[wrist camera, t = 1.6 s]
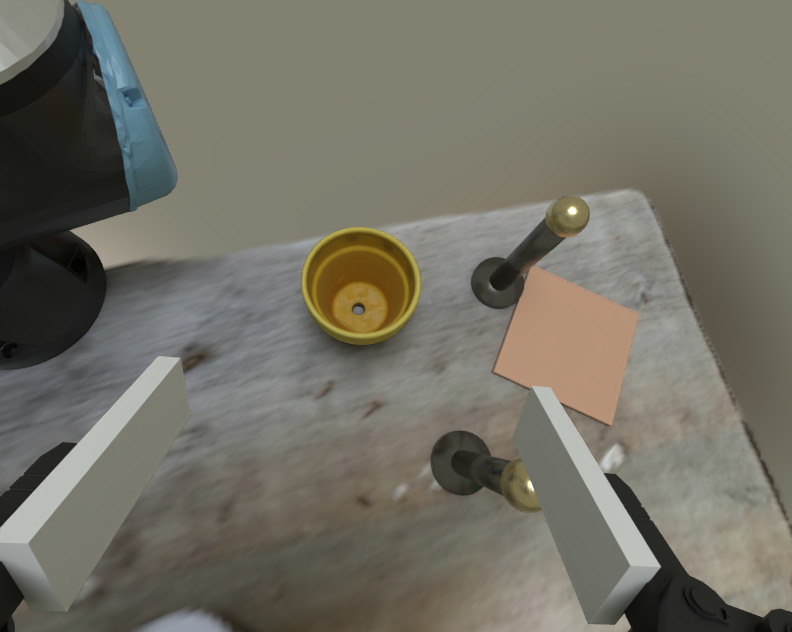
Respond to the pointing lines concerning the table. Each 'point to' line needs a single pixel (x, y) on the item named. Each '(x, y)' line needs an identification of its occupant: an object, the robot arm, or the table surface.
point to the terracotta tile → (568, 344)
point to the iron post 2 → (481, 471)
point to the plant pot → (360, 285)
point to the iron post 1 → (528, 253)
